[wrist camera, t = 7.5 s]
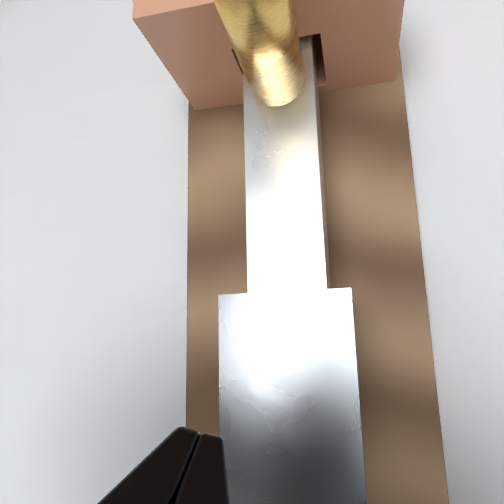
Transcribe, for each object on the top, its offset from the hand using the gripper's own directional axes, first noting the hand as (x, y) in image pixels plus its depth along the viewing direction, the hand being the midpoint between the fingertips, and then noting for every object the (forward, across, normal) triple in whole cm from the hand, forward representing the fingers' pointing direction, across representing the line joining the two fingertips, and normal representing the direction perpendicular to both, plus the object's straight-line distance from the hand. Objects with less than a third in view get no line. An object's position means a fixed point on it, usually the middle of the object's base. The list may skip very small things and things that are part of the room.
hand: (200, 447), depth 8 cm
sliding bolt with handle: (+15, 0, -1) cm, 15 cm away
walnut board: (+14, -1, +3) cm, 15 cm away
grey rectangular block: (+9, -3, +8) cm, 12 cm away
